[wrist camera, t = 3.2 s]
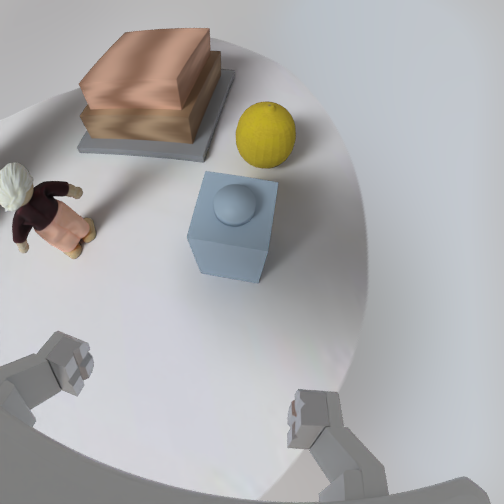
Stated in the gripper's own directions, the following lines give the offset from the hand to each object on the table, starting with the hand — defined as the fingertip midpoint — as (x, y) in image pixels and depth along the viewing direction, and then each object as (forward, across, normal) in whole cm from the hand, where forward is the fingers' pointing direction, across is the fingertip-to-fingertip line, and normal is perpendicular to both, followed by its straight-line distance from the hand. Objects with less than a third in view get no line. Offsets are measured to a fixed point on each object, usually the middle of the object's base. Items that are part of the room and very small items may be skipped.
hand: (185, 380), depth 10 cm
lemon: (+24, -1, -5) cm, 24 cm away
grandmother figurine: (+15, +16, +4) cm, 22 cm away
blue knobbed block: (+17, 0, +2) cm, 17 cm away
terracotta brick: (+28, +13, -10) cm, 32 cm away
